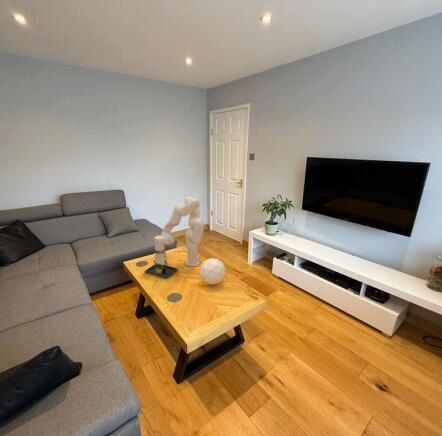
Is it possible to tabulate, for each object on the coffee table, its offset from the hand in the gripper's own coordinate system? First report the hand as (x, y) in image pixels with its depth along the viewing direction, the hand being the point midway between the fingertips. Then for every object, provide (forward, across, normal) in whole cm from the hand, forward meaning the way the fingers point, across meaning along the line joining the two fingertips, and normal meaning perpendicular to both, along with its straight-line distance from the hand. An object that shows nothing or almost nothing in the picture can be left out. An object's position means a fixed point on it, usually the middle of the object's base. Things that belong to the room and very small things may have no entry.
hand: (161, 270), depth 194 cm
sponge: (0, 0, 0) cm, 0 cm away
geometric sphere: (+1, -45, -5) cm, 45 cm away
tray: (+1, 0, 0) cm, 1 cm away
